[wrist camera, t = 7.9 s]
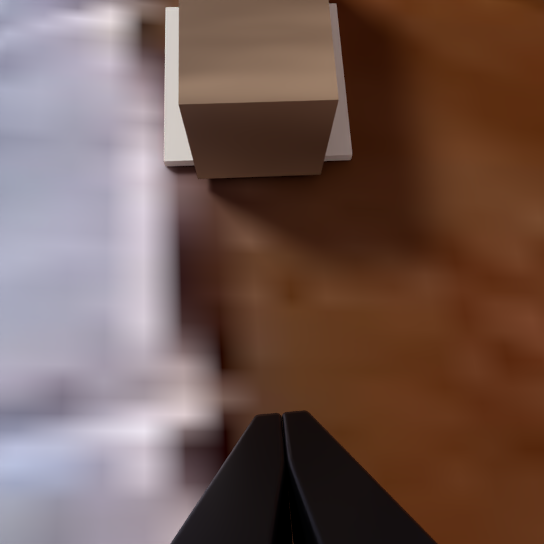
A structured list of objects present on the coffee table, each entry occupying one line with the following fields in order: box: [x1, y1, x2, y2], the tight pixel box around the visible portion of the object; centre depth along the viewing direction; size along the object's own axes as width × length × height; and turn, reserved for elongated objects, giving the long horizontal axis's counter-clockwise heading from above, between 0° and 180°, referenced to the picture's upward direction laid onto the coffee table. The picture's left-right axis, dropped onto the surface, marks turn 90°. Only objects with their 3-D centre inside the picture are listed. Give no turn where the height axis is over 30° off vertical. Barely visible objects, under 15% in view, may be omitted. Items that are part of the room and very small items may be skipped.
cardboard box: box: [178, 0, 339, 179], centre depth 18 cm, size 5×4×10 cm
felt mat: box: [164, 3, 352, 166], centre depth 20 cm, size 7×7×1 cm
